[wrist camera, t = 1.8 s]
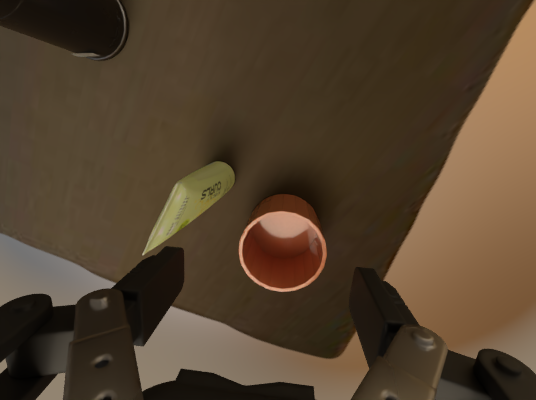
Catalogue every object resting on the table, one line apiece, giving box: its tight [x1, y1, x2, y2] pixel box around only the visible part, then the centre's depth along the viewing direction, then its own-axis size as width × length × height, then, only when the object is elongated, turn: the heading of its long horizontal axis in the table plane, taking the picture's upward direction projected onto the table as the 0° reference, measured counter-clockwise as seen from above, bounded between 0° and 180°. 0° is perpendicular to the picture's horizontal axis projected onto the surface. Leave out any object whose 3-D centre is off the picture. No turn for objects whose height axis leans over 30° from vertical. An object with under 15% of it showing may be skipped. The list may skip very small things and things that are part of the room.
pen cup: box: [238, 194, 327, 292], centre depth 37 cm, size 11×11×9 cm
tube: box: [142, 161, 235, 255], centre depth 31 cm, size 6×5×20 cm
